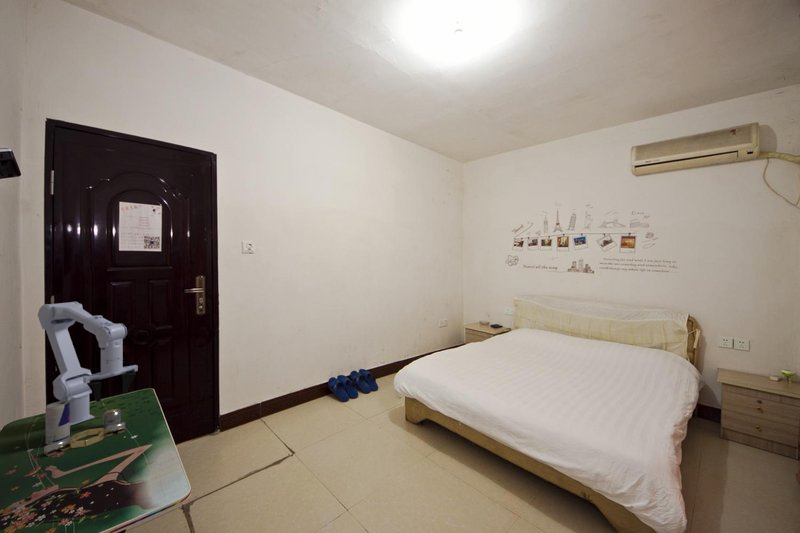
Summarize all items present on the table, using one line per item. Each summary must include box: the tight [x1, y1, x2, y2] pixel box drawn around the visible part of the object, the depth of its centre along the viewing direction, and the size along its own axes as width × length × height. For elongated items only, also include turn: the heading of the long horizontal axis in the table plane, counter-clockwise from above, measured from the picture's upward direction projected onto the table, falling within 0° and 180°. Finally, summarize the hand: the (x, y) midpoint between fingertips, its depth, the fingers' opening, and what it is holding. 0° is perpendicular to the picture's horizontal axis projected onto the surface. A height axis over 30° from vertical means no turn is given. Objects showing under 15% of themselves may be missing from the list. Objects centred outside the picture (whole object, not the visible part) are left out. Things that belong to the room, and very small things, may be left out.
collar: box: [68, 427, 107, 449], centre depth 102 cm, size 9×9×2 cm
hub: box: [102, 408, 122, 429], centre depth 111 cm, size 4×4×5 cm
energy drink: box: [45, 400, 71, 445], centre depth 102 cm, size 5×5×12 cm
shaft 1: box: [43, 437, 71, 457], centre depth 96 cm, size 5×3×3 cm
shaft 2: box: [105, 421, 126, 438], centre depth 107 cm, size 5×3×3 cm
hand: (112, 396), depth 111 cm, fingers open, 7 cm apart
